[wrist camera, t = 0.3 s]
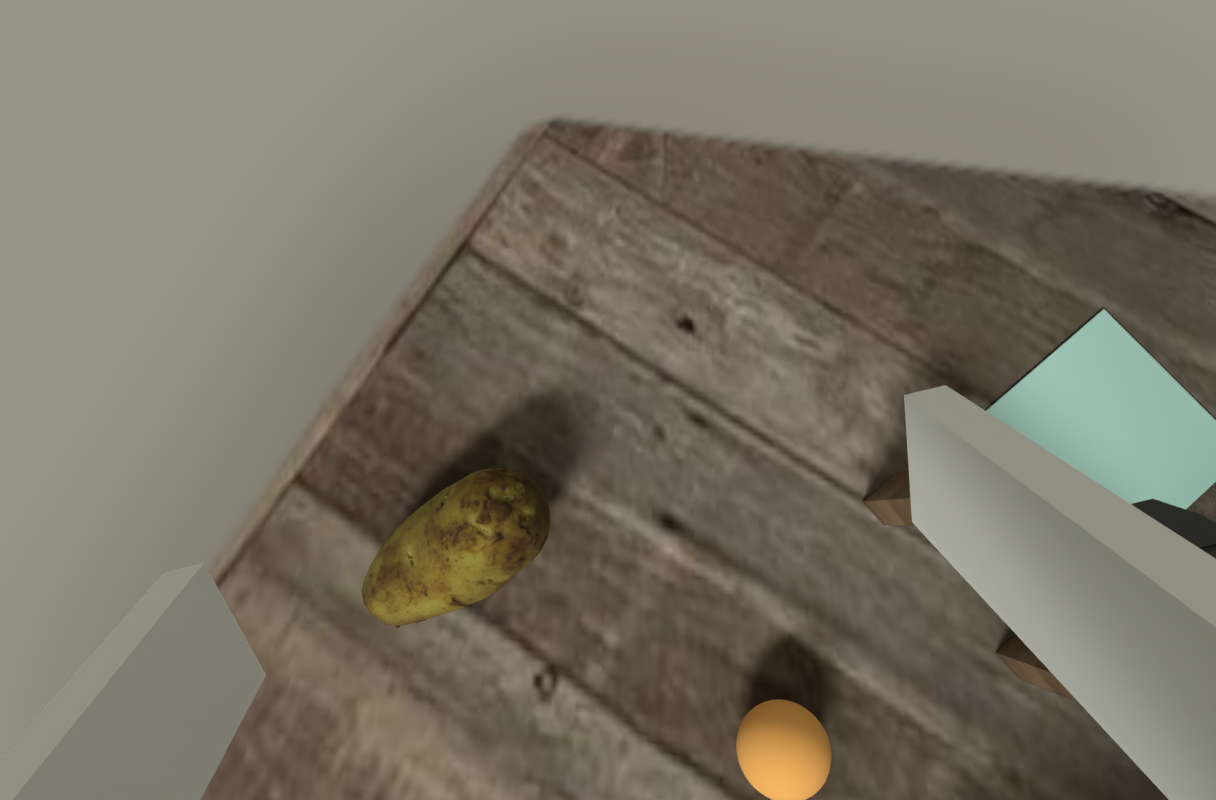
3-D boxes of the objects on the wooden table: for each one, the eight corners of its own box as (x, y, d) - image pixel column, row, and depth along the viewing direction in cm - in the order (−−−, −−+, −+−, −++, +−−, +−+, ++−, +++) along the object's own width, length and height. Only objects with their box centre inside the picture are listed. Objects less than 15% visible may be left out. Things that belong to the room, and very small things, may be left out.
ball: (834, 742, 43) (864, 774, 38) (769, 800, 43) (790, 841, 37) (776, 671, 44) (797, 692, 38) (712, 727, 43) (724, 757, 38)
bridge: (895, 473, 46) (962, 462, 37) (1051, 647, 44) (1163, 681, 35) (862, 501, 46) (922, 497, 36) (1017, 678, 43) (1121, 720, 34)
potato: (365, 503, 46) (312, 500, 39) (548, 463, 47) (532, 451, 39) (384, 626, 45) (333, 649, 37) (572, 584, 45) (561, 598, 37)
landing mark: (1244, 452, 45) (1247, 452, 45) (1108, 577, 44) (1110, 578, 44) (1102, 310, 47) (1104, 309, 47) (967, 426, 46) (969, 425, 46)
